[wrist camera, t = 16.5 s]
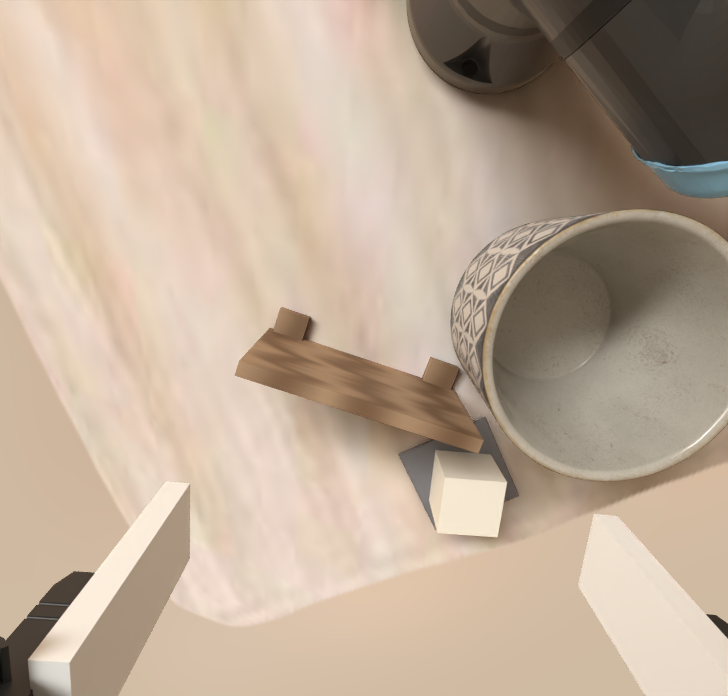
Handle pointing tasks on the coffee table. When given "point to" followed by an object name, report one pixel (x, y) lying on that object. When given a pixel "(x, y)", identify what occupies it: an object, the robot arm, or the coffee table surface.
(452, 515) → the cream cube
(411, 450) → the mat
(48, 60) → the coffee table surface
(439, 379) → the walnut screen
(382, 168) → the coffee table surface
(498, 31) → the robot arm
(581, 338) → the planter
